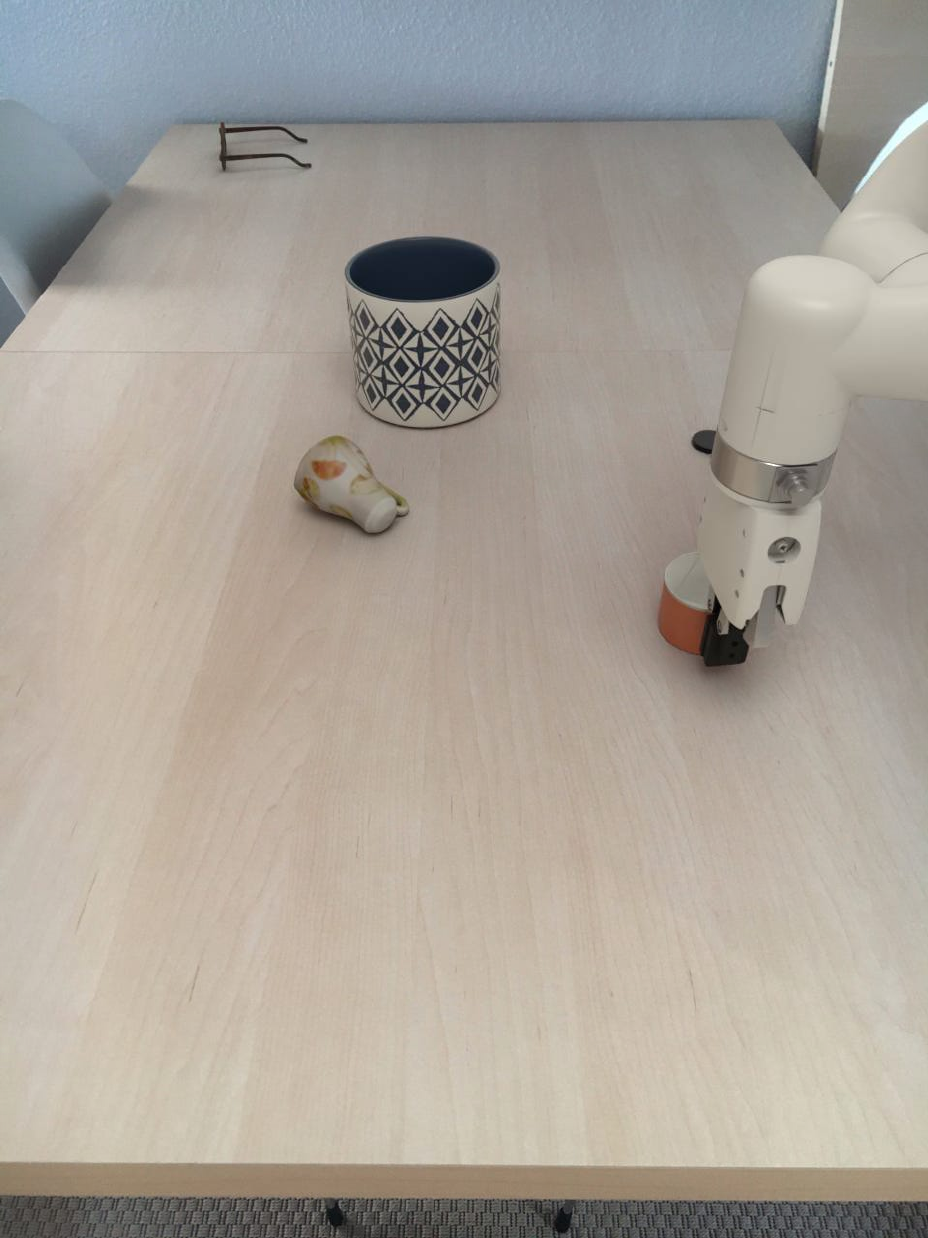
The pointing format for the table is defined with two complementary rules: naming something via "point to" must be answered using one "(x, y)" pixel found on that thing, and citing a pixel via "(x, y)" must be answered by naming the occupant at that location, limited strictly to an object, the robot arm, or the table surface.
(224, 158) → the eyeglasses
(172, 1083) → the table surface
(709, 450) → the spoon
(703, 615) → the orange cup
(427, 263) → the planter
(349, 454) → the mug
